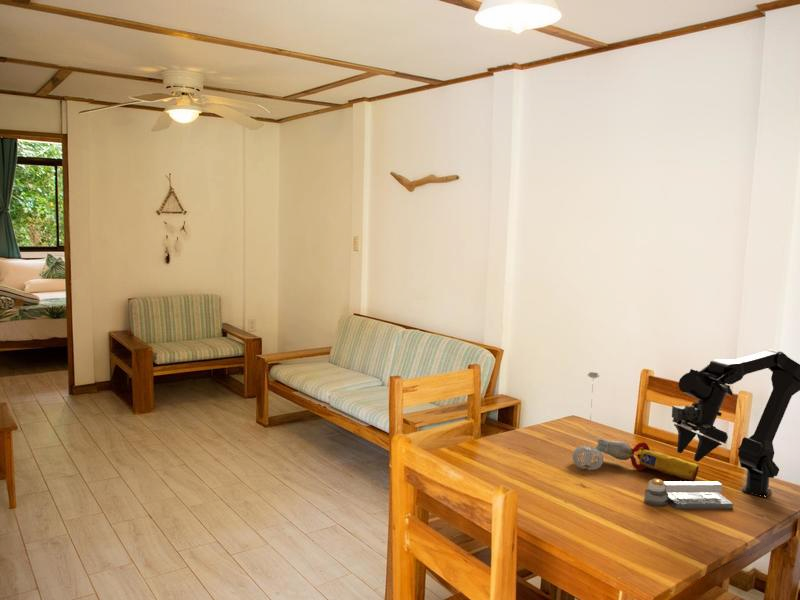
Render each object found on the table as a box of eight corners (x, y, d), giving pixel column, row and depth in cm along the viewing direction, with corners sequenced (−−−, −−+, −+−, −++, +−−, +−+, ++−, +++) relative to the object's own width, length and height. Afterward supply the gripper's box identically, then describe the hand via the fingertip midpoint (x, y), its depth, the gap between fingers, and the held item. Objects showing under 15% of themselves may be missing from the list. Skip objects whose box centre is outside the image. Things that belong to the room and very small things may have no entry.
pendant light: (599, 462, 209) (605, 370, 205) (605, 473, 200) (612, 377, 196) (569, 460, 210) (575, 369, 206) (574, 471, 200) (580, 376, 197)
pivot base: (648, 495, 184) (649, 486, 184) (670, 501, 181) (671, 492, 180) (640, 502, 180) (641, 493, 180) (663, 508, 176) (663, 499, 176)
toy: (703, 452, 201) (606, 424, 216) (697, 464, 190) (594, 434, 205) (698, 478, 202) (601, 448, 218) (691, 492, 191) (590, 460, 207)
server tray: (676, 509, 176) (676, 502, 176) (660, 495, 185) (660, 488, 185) (732, 508, 177) (733, 502, 177) (714, 494, 186) (714, 488, 186)
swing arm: (652, 495, 178) (653, 484, 177) (645, 488, 182) (646, 477, 181) (723, 494, 179) (724, 483, 179) (714, 488, 183) (715, 477, 183)
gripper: (667, 387, 188) (645, 437, 187) (700, 398, 169) (677, 454, 169) (701, 402, 188) (680, 452, 188) (739, 414, 170) (715, 470, 170)
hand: (687, 456), depth 179 cm, fingers open, 9 cm apart
